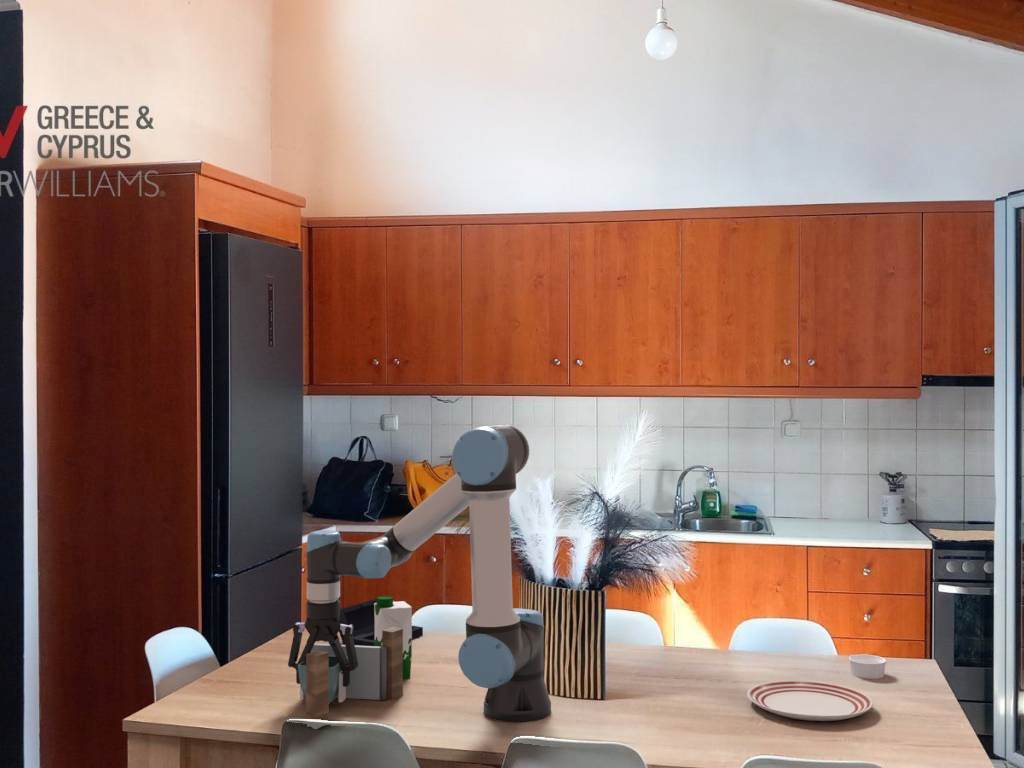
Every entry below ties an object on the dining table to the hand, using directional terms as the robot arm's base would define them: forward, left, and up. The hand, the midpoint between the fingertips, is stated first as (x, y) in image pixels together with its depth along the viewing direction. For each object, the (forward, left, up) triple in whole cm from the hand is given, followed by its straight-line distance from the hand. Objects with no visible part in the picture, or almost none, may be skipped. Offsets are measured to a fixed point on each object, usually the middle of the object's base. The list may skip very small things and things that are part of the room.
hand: (322, 699), depth 227 cm
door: (-8, -12, -2) cm, 14 cm away
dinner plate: (-91, -63, -3) cm, 110 cm away
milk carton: (+3, -28, -2) cm, 28 cm away
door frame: (-8, -3, -2) cm, 9 cm away
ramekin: (-95, -97, -2) cm, 135 cm away
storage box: (+30, -53, -3) cm, 61 cm away
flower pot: (0, 0, 0) cm, 0 cm away
